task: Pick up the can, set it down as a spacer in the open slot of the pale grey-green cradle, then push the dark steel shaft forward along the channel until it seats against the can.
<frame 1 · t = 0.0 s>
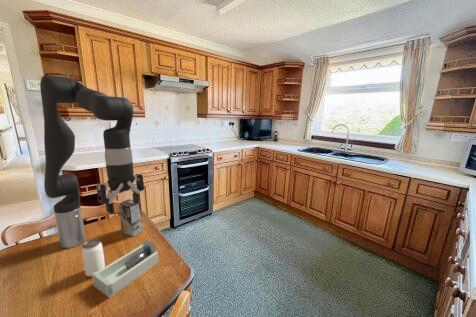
hand: (124, 208, 68), 29 cm above the table, fingers open, 8 cm apart
can: (95, 271, 79), on the table
coffee box: (132, 231, 106), on the table
cradle: (128, 272, 79), on the table
shaft: (140, 255, 82), point 4 cm above the table, slide at 0.0 cm
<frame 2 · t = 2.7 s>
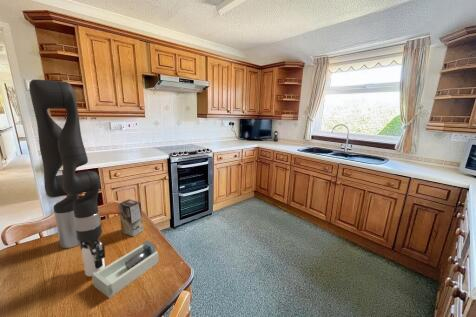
hand: (94, 263, 78), 3 cm above the table, fingers open, 6 cm apart
can: (95, 271, 79), on the table, touching gripper
everything else where it was.
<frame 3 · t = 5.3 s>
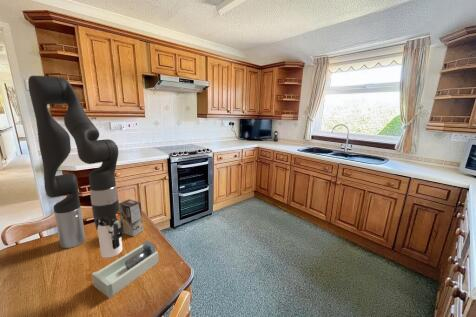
hand: (110, 244, 71), 15 cm above the table, fingers closed on can, 6 cm apart
can: (112, 252, 71), point 12 cm above the table, touching gripper
everything else where it was.
when the fingers open (6 cm above the table, at t = 7.5 s): can drops 2 cm, resting on cradle.
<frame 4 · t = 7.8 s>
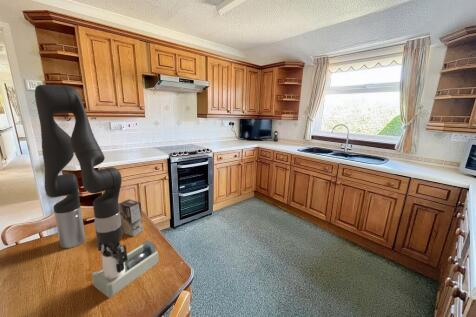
hand: (113, 266, 73), 7 cm above the table, fingers open, 8 cm apart
can: (115, 280, 74), point 1 cm above the table, touching cradle
everything else where it was.
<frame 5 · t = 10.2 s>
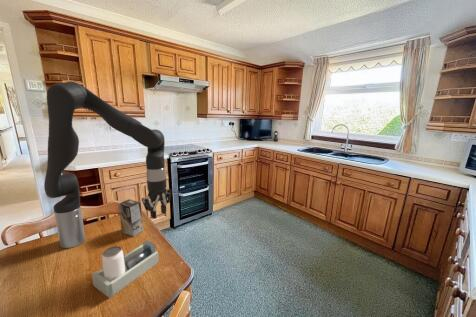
hand: (159, 215, 88), 17 cm above the table, fingers open, 4 cm apart
nothing on the table moved.
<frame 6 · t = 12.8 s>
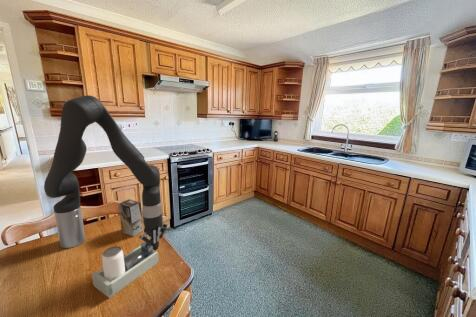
hand: (155, 249, 89), 2 cm above the table, fingers closed
shaft: (137, 257, 81), point 4 cm above the table, slide at 1.1 cm, touching gripper
everything else where it was.
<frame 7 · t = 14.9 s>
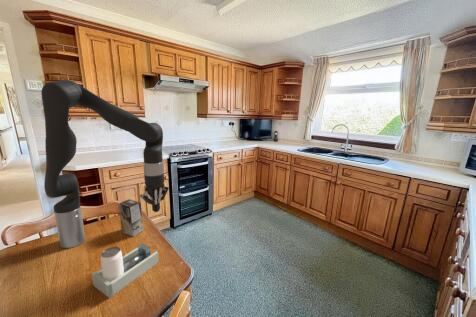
hand: (156, 211, 87), 20 cm above the table, fingers closed
shaft: (134, 259, 80), point 4 cm above the table, slide at 2.3 cm
everything else where it was.
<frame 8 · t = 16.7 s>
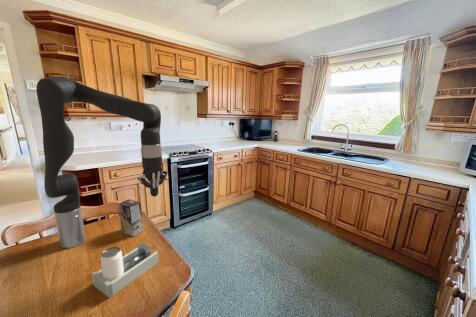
hand: (154, 195, 85), 27 cm above the table, fingers closed
nothing on the table moved.
at the end: can 0.6 cm from the target spot on the cradle, point 0.8 cm above the cradle's base; can tilted 0°; shaft slide at 2.3 cm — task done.
